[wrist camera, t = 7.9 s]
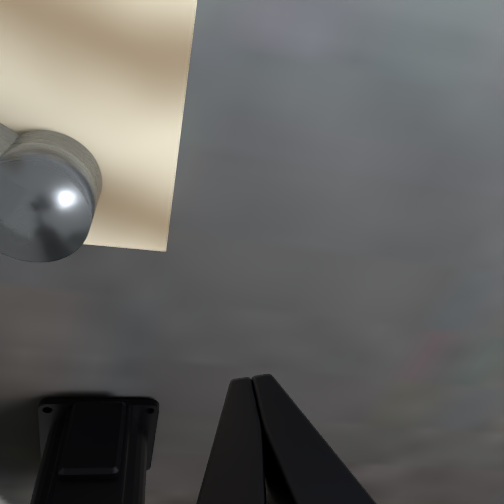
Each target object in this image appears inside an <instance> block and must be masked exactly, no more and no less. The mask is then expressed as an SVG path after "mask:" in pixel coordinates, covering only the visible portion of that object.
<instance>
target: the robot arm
mask: <svg viewBox="0 0 504 504" xmlns="http://www.w3.org/2000/svg"><path fill="white" fill-rule="evenodd" d="M158 413H159V403H158V402H157V401H155V400H151V399H75V398H46V399H43V400H41V401H40V403H39V407H38V424H39V438H40V453H41V463H40V467H39V471H38V474H37V478H36V482H35V486H34V490H33V493H32V497H31V501H30V504H145V485H146V470H148V469H150V467H151V460H152V454H153V447H154V440H155V433H156V427H157V420H158ZM265 482H266V485H265ZM266 487H267V491H268V494H269V498H270V502H271V504H376V503H375V501H374V500H373V499H372V498H371V496H370V495H369V494H368V493H367V492H366V490H365V489H364V488H363V487H362V485H361V484H360V483H359V482H358V480H357V479H356V478H355V477H354V476H353V474H352V473H351V472H350V471H349V469H348V468H347V467H346V466H345V464H344V463H343V462H342V461H341V460H340V458H339V457H338V456H337V455H336V453H335V452H334V451H333V450H332V448H331V447H330V446H329V445H328V443H327V442H326V441H325V440H324V439H323V437H322V436H321V435H320V434H319V432H318V431H317V430H316V429H315V427H314V426H313V425H312V424H311V423H310V421H309V420H308V419H307V418H306V416H305V415H304V414H303V413H302V411H301V410H300V409H299V408H298V407H297V405H296V404H295V403H294V402H293V400H292V399H291V398H290V397H289V395H288V394H287V393H286V392H285V391H284V389H283V388H282V387H281V386H280V384H279V383H278V382H277V381H276V379H275V378H274V377H273V376H272V375H270V374H263V375H257V376H253V377H252V379H250V378H249V377H244V378H238V379H233V380H231V382H230V384H229V388H228V392H227V395H226V399H225V403H224V406H223V410H222V413H221V417H220V421H219V424H218V428H217V431H216V435H215V439H214V442H213V446H212V449H211V453H210V457H209V460H208V464H207V468H206V471H205V475H204V478H203V482H202V486H201V489H200V493H199V496H198V500H197V504H266Z"/></svg>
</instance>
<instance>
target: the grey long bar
mask: <svg viewBox="0 0 504 504" xmlns="http://www.w3.org/2000/svg"><path fill="white" fill-rule="evenodd" d="M102 184H103V183H102V174H101V170H100V167H99V165H98V163H97V161H96V159H95V158H94V156H93V155H92V154H91V152H90V151H89V150H88V149H87V148H86V147H85V146H84V145H82V144H81V143H80V142H78V141H77V140H75V139H73V138H72V137H70V136H67V135H65V134H62V133H59V132H55V131H50V130H35V131H29V132H26V133H23V134H21V135H19V134H17V133H16V132H14V131H13V130H11V129H9V128H8V127H6V126H5V125H3V124H2V123H0V252H1V253H3V254H5V255H7V256H10V257H12V258H15V259H18V260H23V261H28V262H51V261H56V260H59V259H62V258H65V257H67V256H69V255H71V254H72V253H74V252H75V251H76V250H78V249H79V248H80V246H81V245H82V244H83V243H84V241H85V240H86V238H87V236H88V233H89V230H90V227H91V224H92V220H93V217H94V214H95V211H96V207H97V204H98V201H99V198H100V195H101V191H102Z"/></svg>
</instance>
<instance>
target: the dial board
mask: <svg viewBox="0 0 504 504" xmlns="http://www.w3.org/2000/svg"><path fill="white" fill-rule="evenodd" d="M196 6H197V0H0V123H2V124H3V125H5V126H6V127H8V128H9V129H11V130H13V131H14V132H16V133H17V134H19V135H21V134H23V133H26V132H29V131H35V130H50V131H55V132H59V133H62V134H65V135H67V136H70V137H72V138H73V139H75V140H77V141H78V142H80V143H81V144H82V145H84V146H85V147H86V148H87V149H88V150H89V151H90V152H91V154H92V155H93V156H94V158H95V159H96V161H97V163H98V165H99V167H100V170H101V174H102V183H103V184H102V191H101V195H100V198H99V201H98V204H97V207H96V211H95V214H94V217H93V220H92V224H91V227H90V230H89V233H88V236H87V238H86V240H85V241H84V243H83V244H90V245H101V246H112V247H123V248H134V249H144V250H155V251H166V246H167V238H168V230H169V222H170V214H171V206H172V198H173V190H174V182H175V174H176V166H177V158H178V150H179V142H180V134H181V126H182V118H183V110H184V102H185V94H186V86H187V78H188V70H189V62H190V54H191V46H192V38H193V30H194V22H195V14H196Z"/></svg>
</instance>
